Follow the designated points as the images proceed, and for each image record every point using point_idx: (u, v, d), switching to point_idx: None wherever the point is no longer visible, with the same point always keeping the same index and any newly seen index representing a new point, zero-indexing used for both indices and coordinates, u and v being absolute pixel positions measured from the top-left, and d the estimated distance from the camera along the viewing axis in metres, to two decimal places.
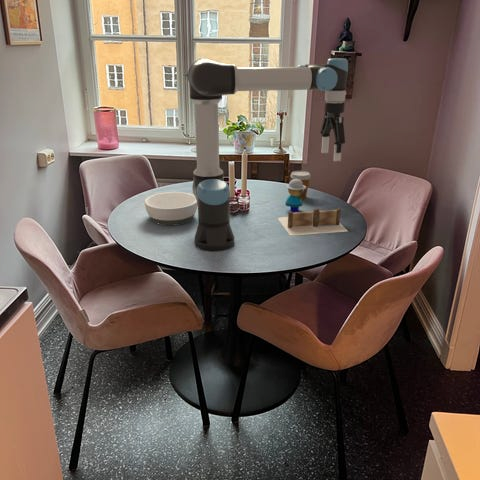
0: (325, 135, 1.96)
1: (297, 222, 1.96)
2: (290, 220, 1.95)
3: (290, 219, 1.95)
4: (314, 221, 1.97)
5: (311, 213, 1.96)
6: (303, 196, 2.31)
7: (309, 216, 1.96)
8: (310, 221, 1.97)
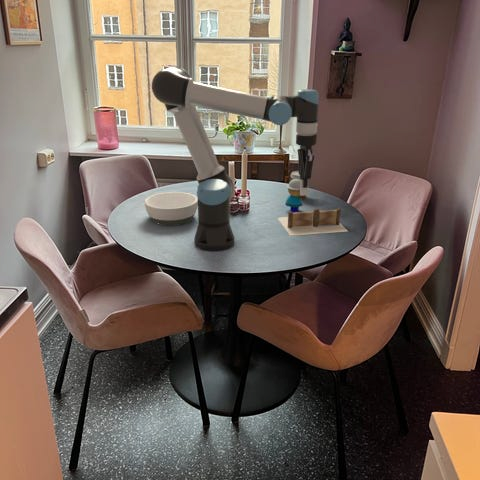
0: None
1: (297, 222, 1.96)
2: (290, 220, 1.95)
3: (290, 219, 1.95)
4: (314, 221, 1.97)
5: (311, 213, 1.96)
6: (303, 196, 2.31)
7: (309, 216, 1.96)
8: (310, 221, 1.97)
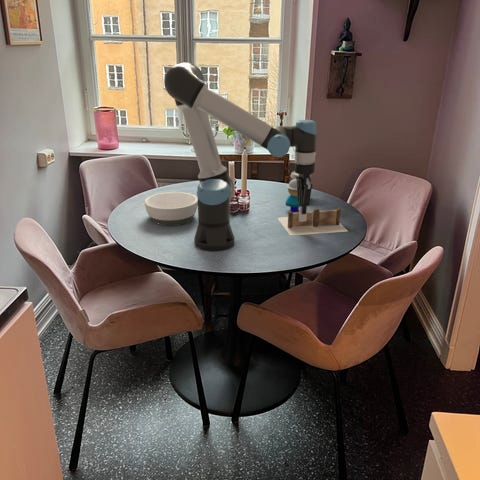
0: None
1: (297, 222, 1.96)
2: (290, 220, 1.95)
3: (290, 219, 1.95)
4: (314, 221, 1.97)
5: (311, 213, 1.96)
6: None
7: (309, 216, 1.96)
8: (310, 221, 1.97)
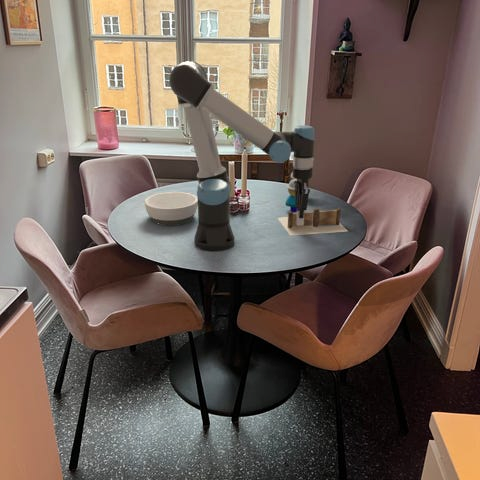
0: None
1: None
2: (290, 220, 1.95)
3: (290, 219, 1.95)
4: (314, 221, 1.97)
5: (311, 213, 1.96)
6: None
7: (309, 216, 1.96)
8: (310, 221, 1.97)
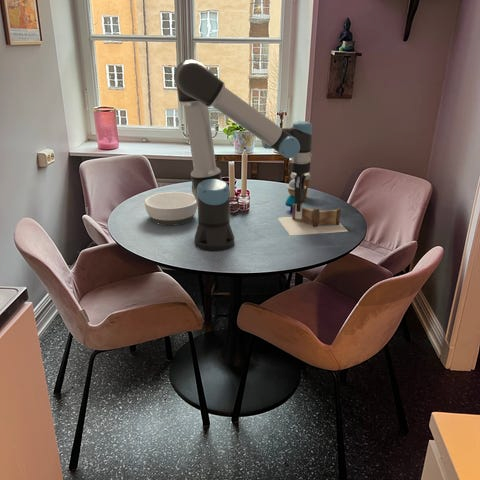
0: None
1: None
2: (293, 212, 2.04)
3: (293, 211, 2.04)
4: (314, 221, 1.97)
5: (310, 211, 1.97)
6: None
7: (309, 214, 1.98)
8: (309, 219, 1.99)
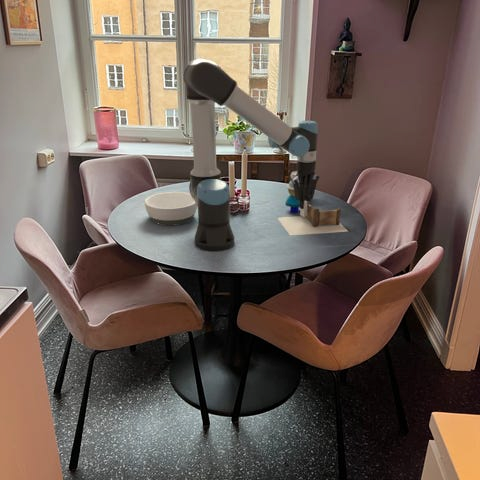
0: (305, 198, 2.01)
1: (307, 214, 2.05)
2: None
3: None
4: (314, 221, 1.97)
5: (312, 210, 1.98)
6: None
7: (312, 213, 1.99)
8: (312, 218, 2.00)
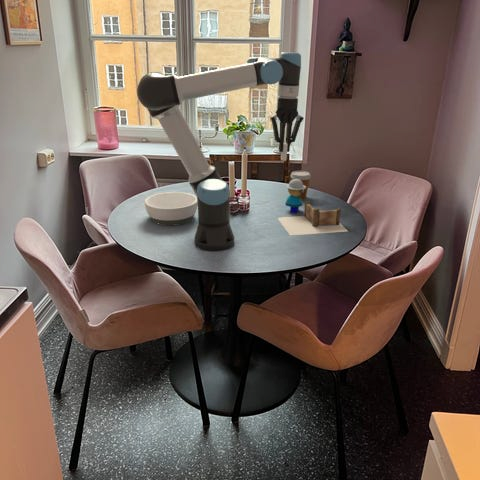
0: (286, 140, 1.85)
1: (307, 214, 2.05)
2: None
3: None
4: (314, 221, 1.97)
5: (312, 210, 1.98)
6: (303, 196, 2.31)
7: (312, 213, 1.99)
8: (312, 218, 2.00)
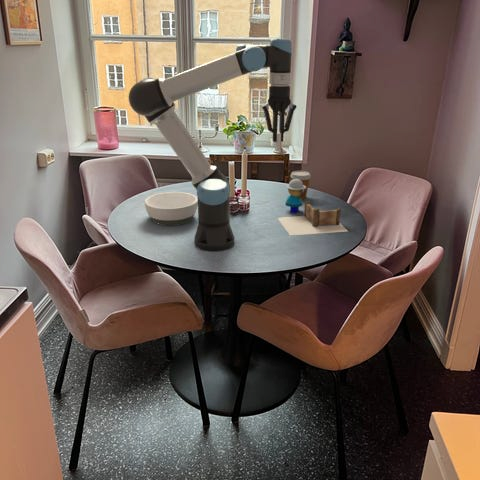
0: (280, 130, 1.80)
1: (307, 214, 2.05)
2: None
3: None
4: (314, 221, 1.97)
5: (312, 210, 1.98)
6: (303, 196, 2.31)
7: (312, 213, 1.99)
8: (312, 218, 2.00)
